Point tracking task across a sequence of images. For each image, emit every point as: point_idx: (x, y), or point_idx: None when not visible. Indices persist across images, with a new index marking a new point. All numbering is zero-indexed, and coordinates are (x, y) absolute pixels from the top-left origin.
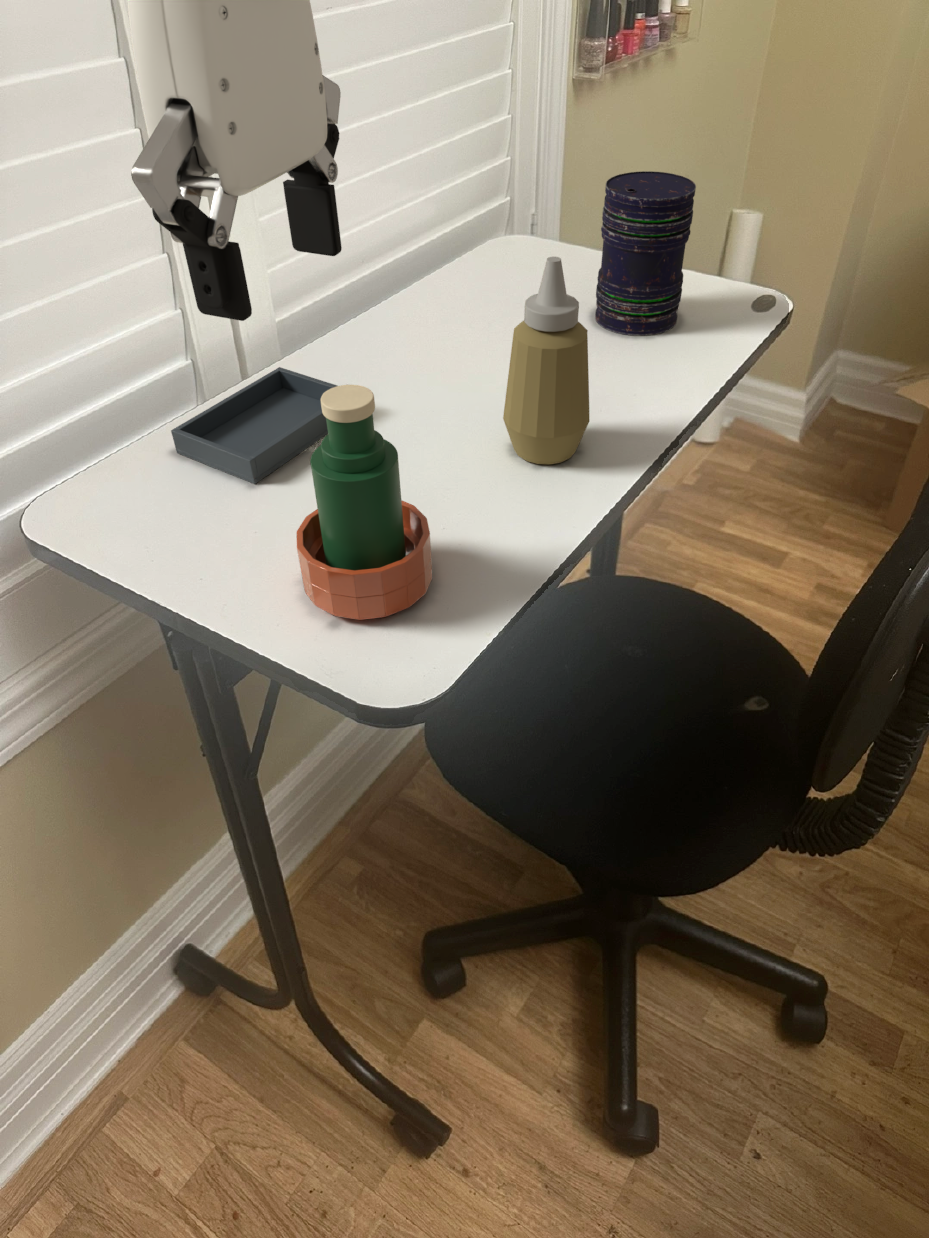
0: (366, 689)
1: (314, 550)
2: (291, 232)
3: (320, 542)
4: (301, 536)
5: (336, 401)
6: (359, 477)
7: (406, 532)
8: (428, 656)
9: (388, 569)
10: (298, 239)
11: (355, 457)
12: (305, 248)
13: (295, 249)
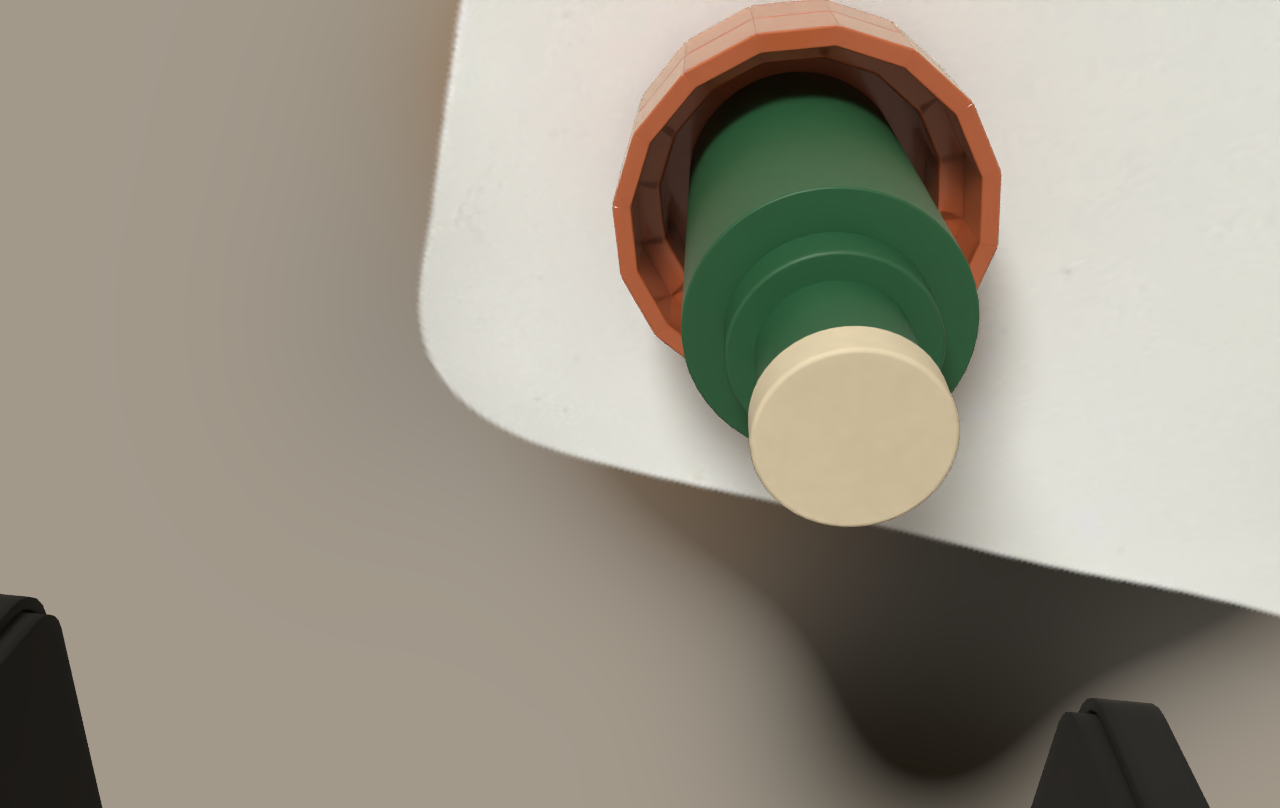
0: (455, 306)
1: (779, 52)
2: (1097, 803)
3: (822, 51)
4: (734, 63)
5: (808, 421)
6: (716, 390)
7: None
8: (593, 388)
9: (671, 347)
10: (1080, 799)
11: (744, 399)
12: (1052, 789)
13: (1065, 716)
